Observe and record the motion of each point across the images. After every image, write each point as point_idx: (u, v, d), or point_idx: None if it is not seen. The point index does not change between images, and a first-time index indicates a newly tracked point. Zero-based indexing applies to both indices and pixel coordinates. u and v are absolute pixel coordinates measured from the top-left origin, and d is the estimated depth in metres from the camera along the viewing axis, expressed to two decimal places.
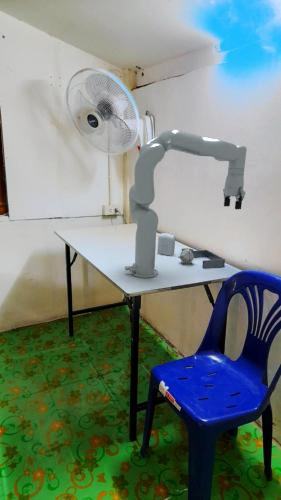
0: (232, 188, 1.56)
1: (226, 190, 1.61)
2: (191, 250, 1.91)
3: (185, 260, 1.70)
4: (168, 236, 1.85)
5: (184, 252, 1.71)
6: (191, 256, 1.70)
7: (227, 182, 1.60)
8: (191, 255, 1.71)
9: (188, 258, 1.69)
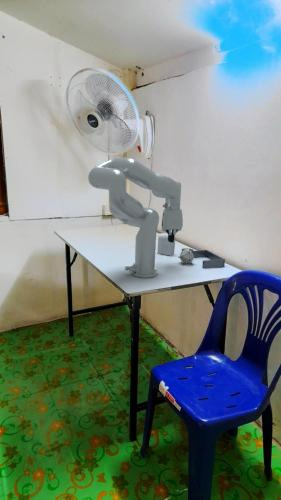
0: (179, 222, 1.63)
1: (169, 225, 1.62)
2: (191, 250, 1.91)
3: (185, 260, 1.70)
4: None
5: (184, 252, 1.71)
6: (191, 256, 1.70)
7: (170, 217, 1.61)
8: (191, 255, 1.71)
9: (188, 258, 1.69)
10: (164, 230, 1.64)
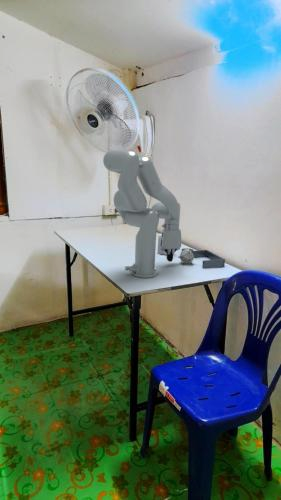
0: (177, 241, 1.66)
1: (168, 245, 1.65)
2: (191, 250, 1.91)
3: (185, 260, 1.70)
4: None
5: (184, 252, 1.71)
6: (191, 256, 1.70)
7: (169, 237, 1.64)
8: (191, 255, 1.71)
9: (188, 258, 1.69)
10: (163, 249, 1.67)
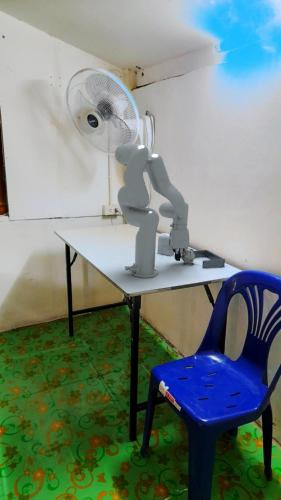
0: (185, 241, 1.67)
1: (176, 244, 1.66)
2: None
3: (186, 260, 1.70)
4: (168, 236, 1.85)
5: (186, 252, 1.71)
6: (192, 256, 1.70)
7: (177, 237, 1.65)
8: (193, 254, 1.71)
9: (190, 258, 1.69)
10: (171, 249, 1.68)
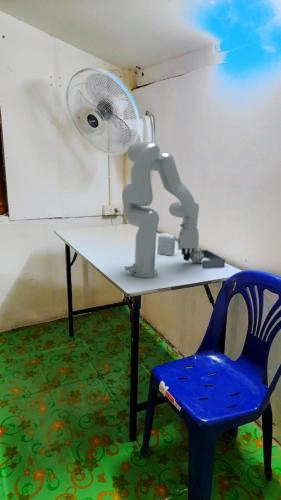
0: (195, 241, 1.69)
1: (186, 244, 1.67)
2: None
3: (195, 260, 1.71)
4: (168, 236, 1.85)
5: (195, 252, 1.72)
6: (201, 256, 1.71)
7: (187, 236, 1.67)
8: (202, 254, 1.72)
9: (198, 258, 1.70)
10: (180, 248, 1.70)
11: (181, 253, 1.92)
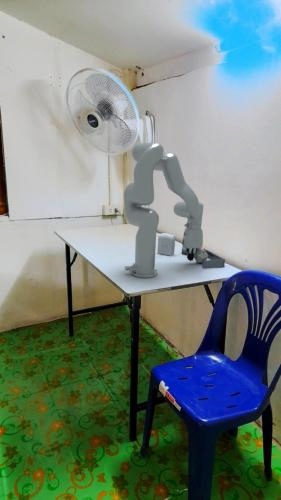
0: (199, 241, 1.69)
1: (190, 244, 1.68)
2: None
3: (199, 259, 1.72)
4: (168, 236, 1.85)
5: (199, 252, 1.72)
6: (205, 256, 1.72)
7: (191, 236, 1.67)
8: (206, 254, 1.72)
9: (203, 257, 1.71)
10: (185, 248, 1.70)
11: (181, 253, 1.92)
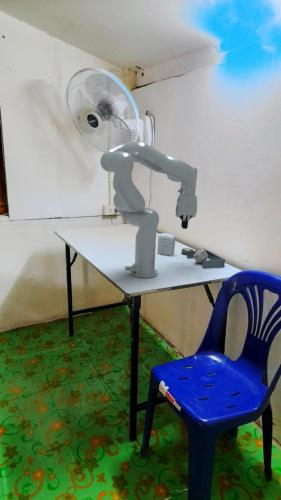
0: (193, 207, 1.63)
1: (184, 210, 1.62)
2: (191, 250, 1.91)
3: (199, 260, 1.72)
4: (168, 236, 1.85)
5: (198, 252, 1.72)
6: (205, 256, 1.71)
7: (185, 202, 1.61)
8: (206, 254, 1.72)
9: (202, 258, 1.71)
10: (178, 215, 1.64)
11: (181, 253, 1.92)
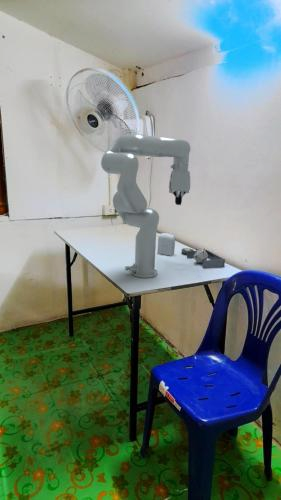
0: (186, 183, 1.63)
1: (177, 186, 1.62)
2: (191, 250, 1.91)
3: (199, 260, 1.72)
4: (168, 236, 1.85)
5: (198, 252, 1.72)
6: (205, 256, 1.71)
7: (178, 178, 1.61)
8: (206, 254, 1.72)
9: (202, 258, 1.71)
10: (172, 192, 1.64)
11: (181, 253, 1.92)
